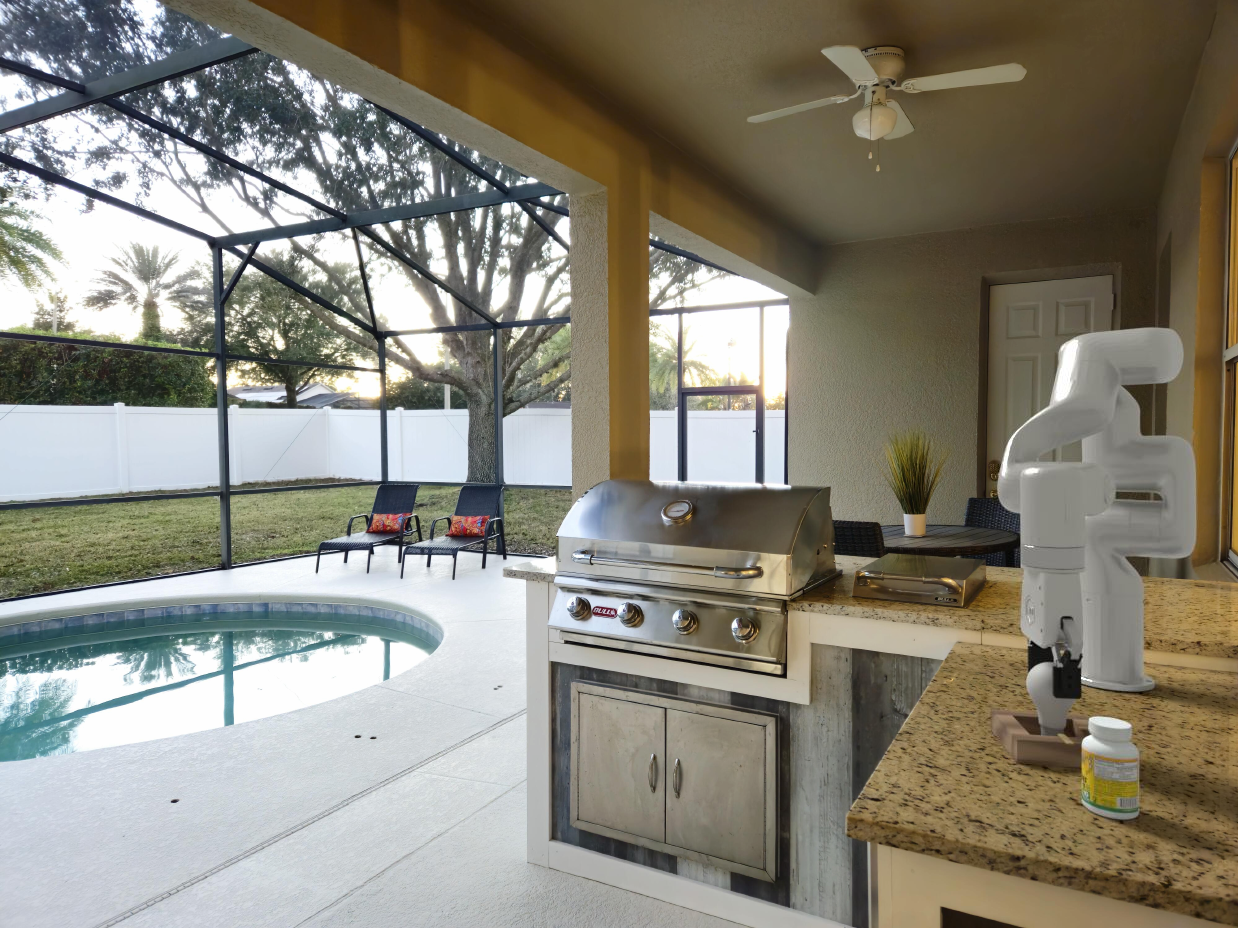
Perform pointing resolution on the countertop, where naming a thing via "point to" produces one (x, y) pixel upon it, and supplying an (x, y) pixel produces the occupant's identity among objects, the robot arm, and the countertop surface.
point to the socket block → (1040, 738)
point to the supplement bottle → (1110, 769)
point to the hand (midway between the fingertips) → (1053, 685)
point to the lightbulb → (1047, 700)
